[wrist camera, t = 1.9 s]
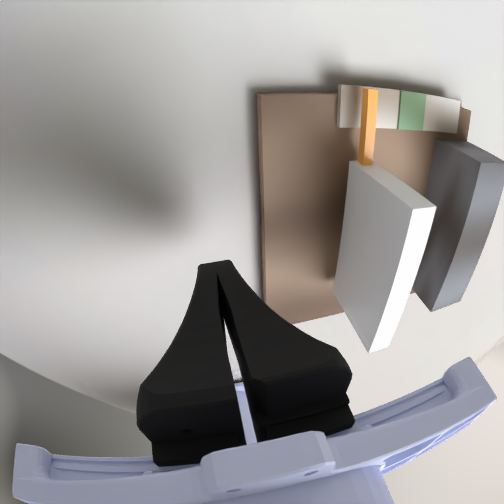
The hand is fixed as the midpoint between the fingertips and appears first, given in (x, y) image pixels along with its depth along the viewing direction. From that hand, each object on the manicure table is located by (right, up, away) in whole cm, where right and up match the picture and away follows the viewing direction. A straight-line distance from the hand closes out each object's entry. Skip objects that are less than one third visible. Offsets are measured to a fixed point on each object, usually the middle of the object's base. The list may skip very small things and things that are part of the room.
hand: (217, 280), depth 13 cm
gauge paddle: (+7, +4, +2) cm, 8 cm away
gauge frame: (+8, +3, +4) cm, 9 cm away
